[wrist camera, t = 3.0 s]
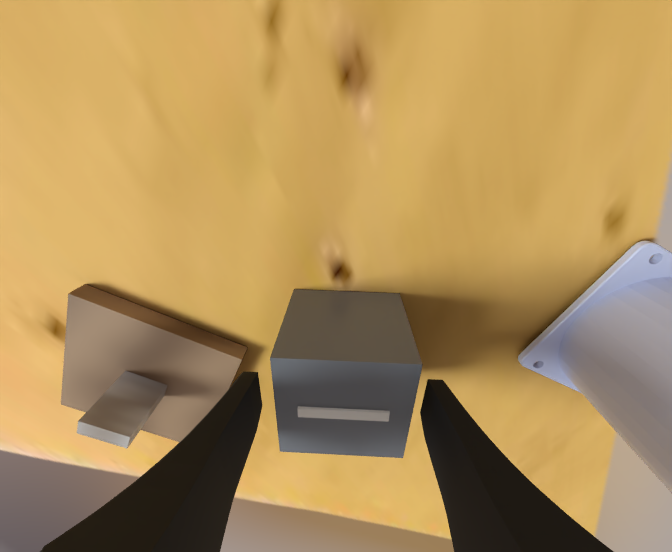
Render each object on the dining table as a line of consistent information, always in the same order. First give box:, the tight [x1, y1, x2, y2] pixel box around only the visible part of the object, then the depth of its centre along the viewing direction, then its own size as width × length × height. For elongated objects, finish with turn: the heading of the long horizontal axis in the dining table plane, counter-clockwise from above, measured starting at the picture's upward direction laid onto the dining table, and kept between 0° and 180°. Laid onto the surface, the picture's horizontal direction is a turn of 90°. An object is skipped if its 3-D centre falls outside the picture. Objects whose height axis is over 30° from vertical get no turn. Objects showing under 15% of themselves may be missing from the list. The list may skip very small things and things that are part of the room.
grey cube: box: [270, 289, 423, 458], centre depth 14 cm, size 5×5×5 cm
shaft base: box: [61, 284, 248, 448], centre depth 16 cm, size 9×9×4 cm
